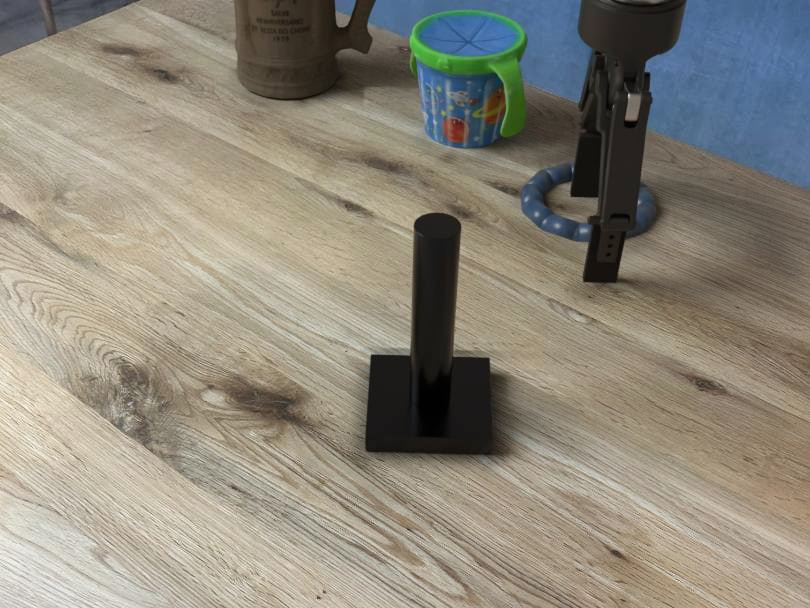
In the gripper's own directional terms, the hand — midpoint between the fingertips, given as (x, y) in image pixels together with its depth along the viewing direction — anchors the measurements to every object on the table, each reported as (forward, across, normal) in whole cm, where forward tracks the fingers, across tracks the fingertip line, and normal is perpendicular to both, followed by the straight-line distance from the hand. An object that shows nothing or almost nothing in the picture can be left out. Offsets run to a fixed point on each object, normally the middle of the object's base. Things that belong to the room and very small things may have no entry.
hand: (590, 243), depth 92 cm
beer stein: (0, -30, -27) cm, 40 cm away
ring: (-1, -5, 0) cm, 5 cm away
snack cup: (0, -18, -11) cm, 21 cm away
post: (0, +22, -14) cm, 26 cm away
